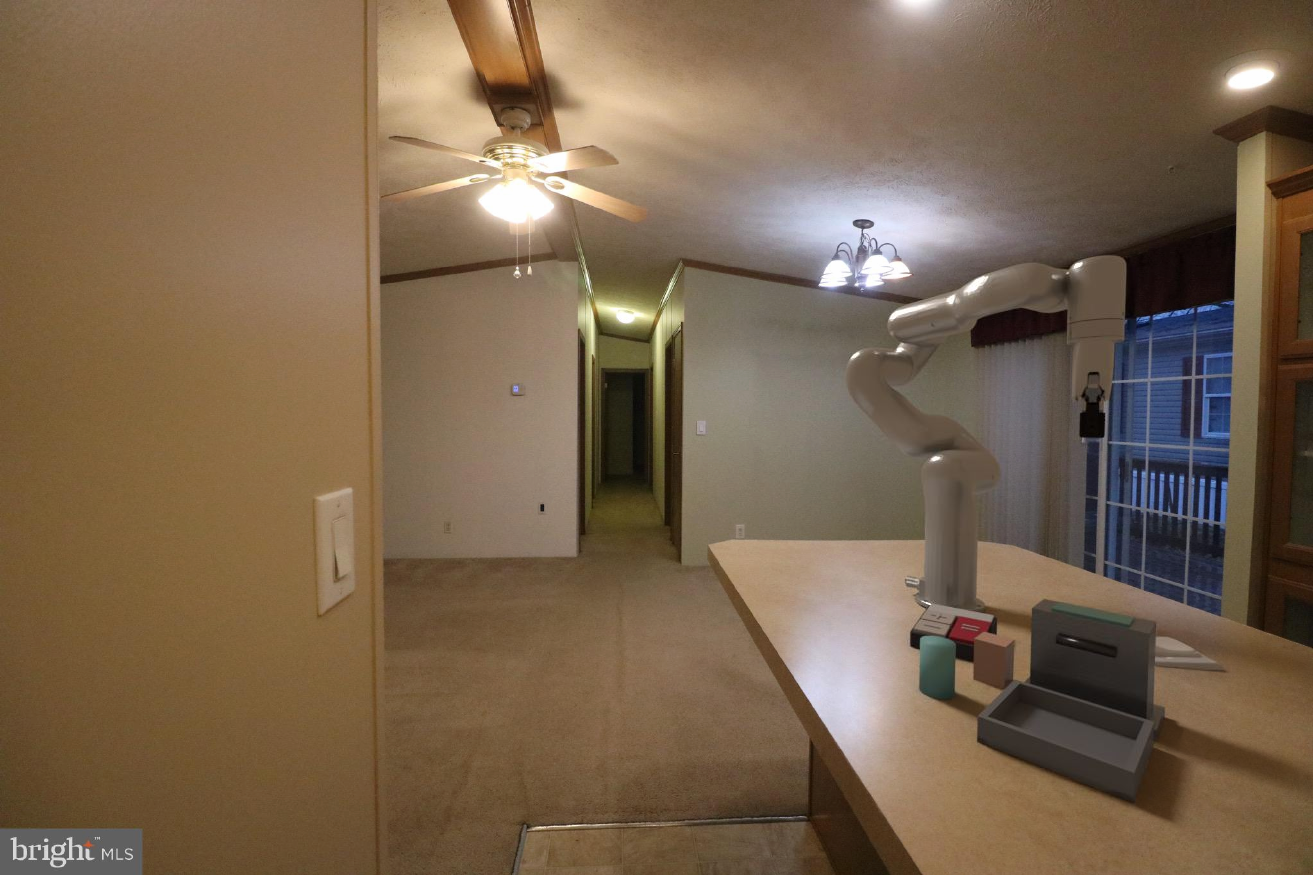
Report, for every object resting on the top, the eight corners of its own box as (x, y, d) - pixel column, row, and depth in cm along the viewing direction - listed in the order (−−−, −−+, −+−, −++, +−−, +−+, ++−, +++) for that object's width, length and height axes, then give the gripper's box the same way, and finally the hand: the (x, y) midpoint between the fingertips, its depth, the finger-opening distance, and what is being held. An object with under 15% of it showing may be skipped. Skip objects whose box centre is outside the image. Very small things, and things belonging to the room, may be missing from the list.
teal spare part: (913, 691, 77) (914, 641, 77) (926, 681, 80) (927, 633, 80) (947, 703, 74) (948, 651, 74) (959, 692, 77) (960, 642, 77)
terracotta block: (973, 679, 81) (974, 638, 81) (982, 671, 84) (983, 631, 83) (1004, 689, 78) (1005, 647, 78) (1013, 680, 81) (1014, 639, 80)
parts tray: (976, 741, 65) (977, 716, 65) (1014, 701, 75) (1014, 679, 74) (1133, 802, 55) (1134, 772, 55) (1153, 747, 64) (1154, 721, 64)
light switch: (1087, 621, 97) (1172, 622, 95) (1088, 644, 97) (1173, 646, 95) (1126, 645, 86) (1223, 647, 84) (1127, 672, 87) (1224, 675, 84)
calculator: (909, 627, 92) (929, 599, 104) (909, 652, 93) (928, 622, 104) (985, 643, 86) (997, 612, 98) (985, 670, 86) (997, 636, 98)
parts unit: (1018, 696, 76) (1020, 605, 75) (1035, 678, 81) (1037, 593, 81) (1155, 741, 65) (1159, 635, 65) (1164, 716, 71) (1168, 619, 70)
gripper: (1069, 342, 101) (1066, 435, 102) (1064, 329, 88) (1061, 437, 88) (1122, 338, 97) (1119, 436, 97) (1126, 324, 83) (1123, 438, 84)
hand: (1092, 437), depth 93 cm, fingers open, 9 cm apart
